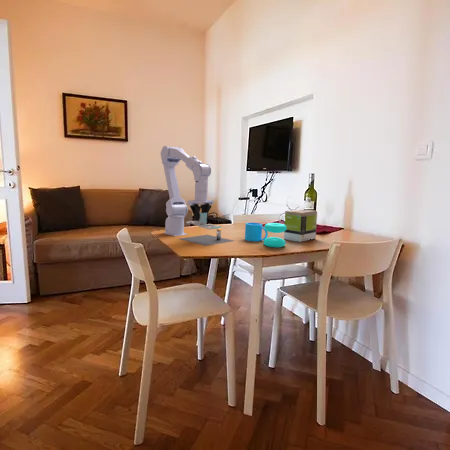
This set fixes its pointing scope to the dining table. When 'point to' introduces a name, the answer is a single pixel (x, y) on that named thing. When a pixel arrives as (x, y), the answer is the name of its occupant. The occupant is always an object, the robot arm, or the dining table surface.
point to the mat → (206, 240)
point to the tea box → (300, 225)
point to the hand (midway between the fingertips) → (200, 220)
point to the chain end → (203, 222)
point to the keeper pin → (218, 234)
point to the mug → (254, 232)
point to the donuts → (275, 240)
